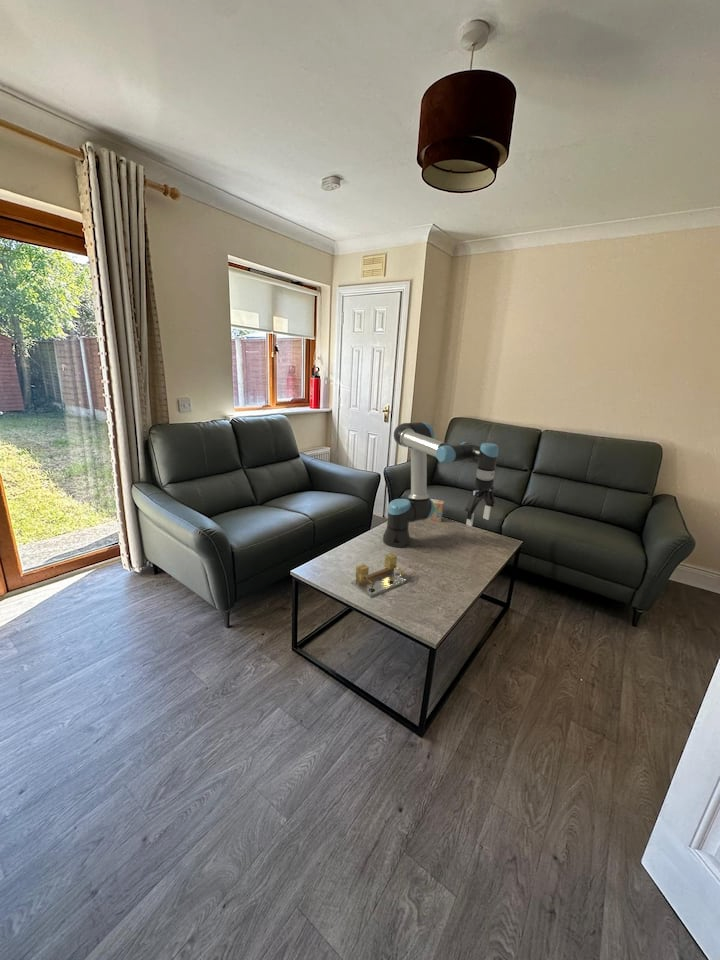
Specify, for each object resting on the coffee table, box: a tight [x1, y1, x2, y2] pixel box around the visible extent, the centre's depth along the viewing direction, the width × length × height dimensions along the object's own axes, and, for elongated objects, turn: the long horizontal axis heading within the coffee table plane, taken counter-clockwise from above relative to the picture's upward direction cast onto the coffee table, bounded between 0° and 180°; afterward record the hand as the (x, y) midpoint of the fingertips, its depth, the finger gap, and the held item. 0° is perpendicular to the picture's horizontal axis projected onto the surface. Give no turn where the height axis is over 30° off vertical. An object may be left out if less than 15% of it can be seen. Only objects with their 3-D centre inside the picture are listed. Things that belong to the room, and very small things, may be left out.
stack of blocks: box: [425, 498, 445, 523], centre depth 248 cm, size 21×6×12 cm, turn 72°
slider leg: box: [384, 552, 404, 578], centre depth 177 cm, size 10×4×8 cm, turn 39°
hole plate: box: [351, 571, 407, 598], centre depth 173 cm, size 13×21×1 cm, turn 129°
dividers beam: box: [355, 563, 395, 589], centre depth 172 cm, size 10×21×8 cm, turn 129°
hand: (477, 522), depth 179 cm, fingers open, 13 cm apart
